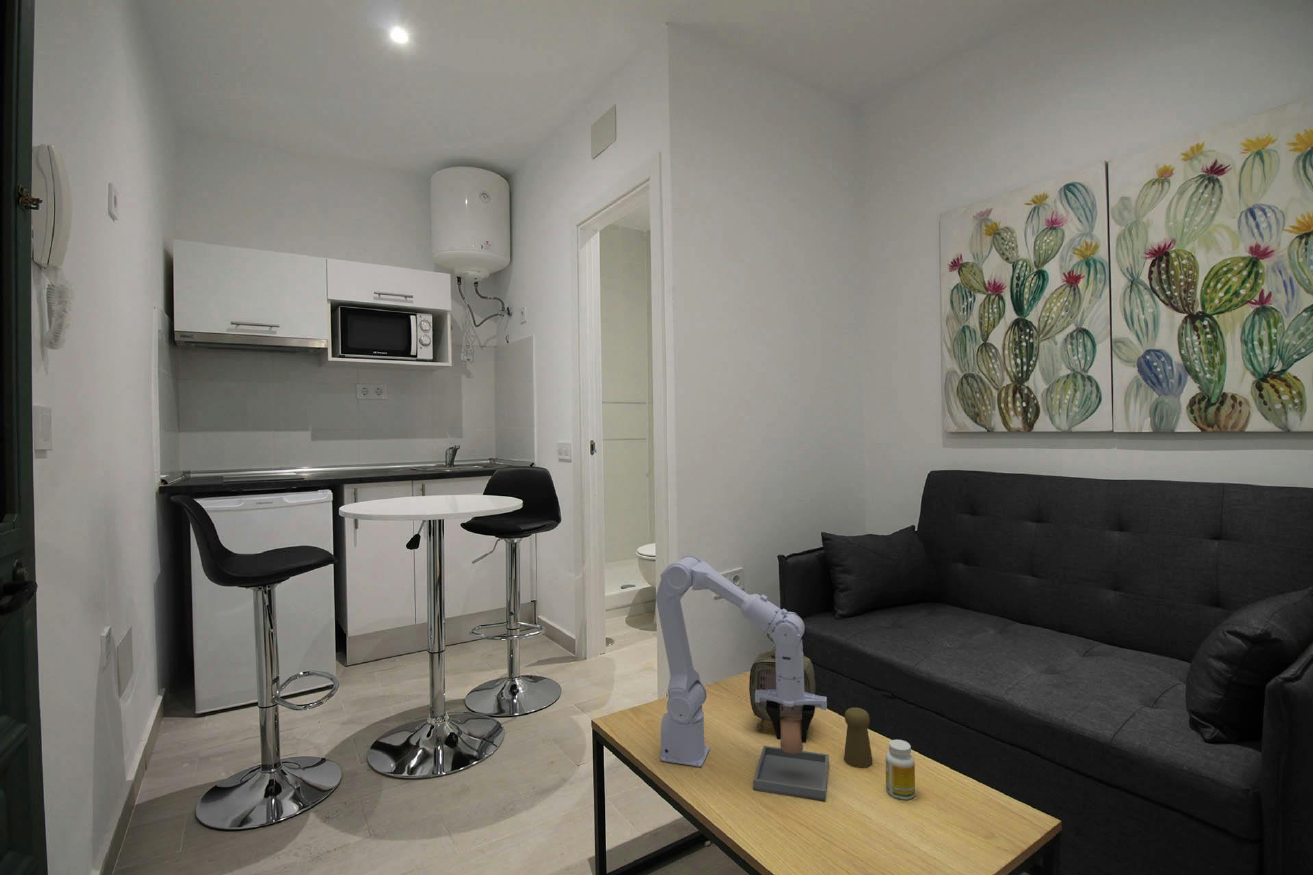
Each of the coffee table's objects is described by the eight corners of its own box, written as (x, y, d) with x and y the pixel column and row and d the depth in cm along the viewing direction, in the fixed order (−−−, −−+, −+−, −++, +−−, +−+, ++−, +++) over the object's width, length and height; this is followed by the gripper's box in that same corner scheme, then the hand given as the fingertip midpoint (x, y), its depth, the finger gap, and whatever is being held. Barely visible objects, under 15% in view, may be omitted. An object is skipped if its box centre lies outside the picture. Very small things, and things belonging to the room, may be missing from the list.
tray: (753, 789, 123) (753, 779, 123) (763, 754, 136) (763, 745, 136) (825, 801, 118) (825, 791, 118) (828, 763, 132) (828, 754, 131)
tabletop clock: (750, 732, 146) (747, 628, 146) (758, 716, 154) (756, 617, 154) (811, 743, 140) (809, 634, 140) (817, 725, 149) (814, 623, 149)
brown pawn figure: (874, 769, 129) (873, 717, 129) (845, 766, 130) (843, 715, 130) (870, 754, 135) (869, 704, 135) (842, 752, 136) (841, 703, 136)
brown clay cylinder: (778, 751, 126) (778, 722, 126) (782, 740, 130) (781, 712, 130) (801, 754, 124) (800, 725, 124) (804, 743, 128) (803, 715, 128)
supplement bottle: (880, 789, 122) (879, 741, 122) (899, 781, 124) (898, 734, 124) (901, 803, 117) (900, 753, 117) (921, 795, 119) (920, 746, 119)
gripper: (751, 677, 125) (753, 743, 126) (824, 685, 121) (826, 753, 121) (757, 665, 132) (759, 727, 132) (826, 671, 128) (828, 736, 128)
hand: (791, 738), depth 127 cm, fingers closed on brown clay cylinder, 5 cm apart
